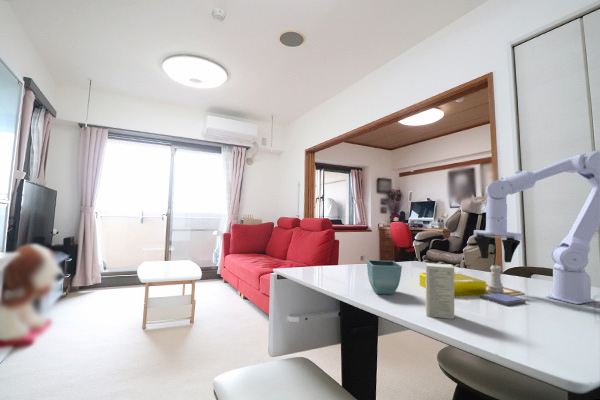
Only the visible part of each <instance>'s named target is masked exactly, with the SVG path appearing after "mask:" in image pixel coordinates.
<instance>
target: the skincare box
mask: <svg viewBox="0 0 600 400" xmlns="http://www.w3.org/2000/svg"><path fill="white" fill-rule="evenodd" d="M454 272H455V267H454V265H453V264H451V263H450V264H449V263H447V264H445V263H434V262H433V263H432V262H431V263H430V262H426V263H425V273H426V288H425V314H426V316H427V317H434V318H443V319H451V320H454V319H455V297H454Z"/></svg>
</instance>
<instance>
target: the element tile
mask: <svg viewBox="0 0 600 400" xmlns="http://www.w3.org/2000/svg"><path fill="white" fill-rule="evenodd" d="M418 284H419V286H421V287H422V288H425V289H426V272H420V273H419V283H418ZM486 285H487V282H486V280H482V279H480V278H477V277H472V276H469V275H466V274H464V273H463V274H462V273H459V272H455V271H454V298H455V297H473V296H474V297H475V296H479V297H480V295H485V294H487V293H486Z"/></svg>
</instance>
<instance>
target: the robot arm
mask: <svg viewBox="0 0 600 400" xmlns="http://www.w3.org/2000/svg"><path fill="white" fill-rule="evenodd" d="M562 173H571V174H575V173H577V174H579V175H580V176H581V177H583V178H584V179H585V180H587V182H588V183H589V184H590V185H591V187H592V189H591V191H590V192H589V195H588V197H587V198H586V200H585V201H584V204H583V206H582V208H581V210H580V212H579V213H578V215H577V217H576V219H575V220H574V222H573V225H572V226H571V228H570V230H569V232H568V234H567V235H566V236H565V237H564V238H563V239H562V240H561V242H560V243H559V245H557V246H556V247H554V248H553V249H552V251H551V255H550V256H551V259H552V261H553V262H554V264H553V265H552V294H546V295H545V297H546V298H549V299H550V298H551V299H554V300H559V301H563V302H565V303H571V304H575V305H581V304H585V303H593V302H595V301H596V300H595V299H593V298H592V293H591V292H592V282H591V281H592V280H591V277H590V275H589V274H588V272H586V269H585V268H586V267H587V266H588V264H589V253H590V251H591V246H590V245H591V244H590V242H591V241H592V238H594V235H595V234H596V231H597V230H598V228H599V226H600V149H596V150H593V151H591V152H590V153H588V154H587V153H586V152H585V153H582V154H578V155H575V156H571V157H567V158H564V159H562V160H559V161H557V162H555V163H552V164H549V165H547V166H545V167H542V168H539V169H537V170H534V171H528V170H525V169H524V170H522V171H521V170H520V169H519V170H516V171H515V172H514V174H511V175H509V176H506V177H503V176H502V177H499V178H498V179H496V180H494V181H492V182H491V183H489V184H488V185H487V186H486V188H485V191H484V193H485V195H486V205H485V207H486V208H485V210H486V211H485V218H486V219H485V230H483V229H481V230H480V229H476V230H475V229H474V230H473V236H474V237H473V238H474V241H475V242H476V244H477V246H478V248H479V252H480V256H481V259H488V258H489V249H490V248H489V247H490V244H491V243H490V241H491V239H492V238H495V239H496V238H497V239H501V242H502V246H503V250H504V251H503V252H504V254H503V255H504V257H503V259H504V263H511V262H512V260H513V256H514V255H515V252H516V249H517V248H518V247H519V245H520V243H521V241H522V240H523V239H522V238H523V237H522V235H523V234H522V233H517V232H509V231H508V203H507V196H508V195H515V194H517V193H520V192H522V191H526V190H528V189H531V188H533V187H534V186H535V185H536V183H537V182H538V181H541V180H544V179H546V178H549V177H553V176H556V175H558V174H559V175H560V174H562Z"/></svg>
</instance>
